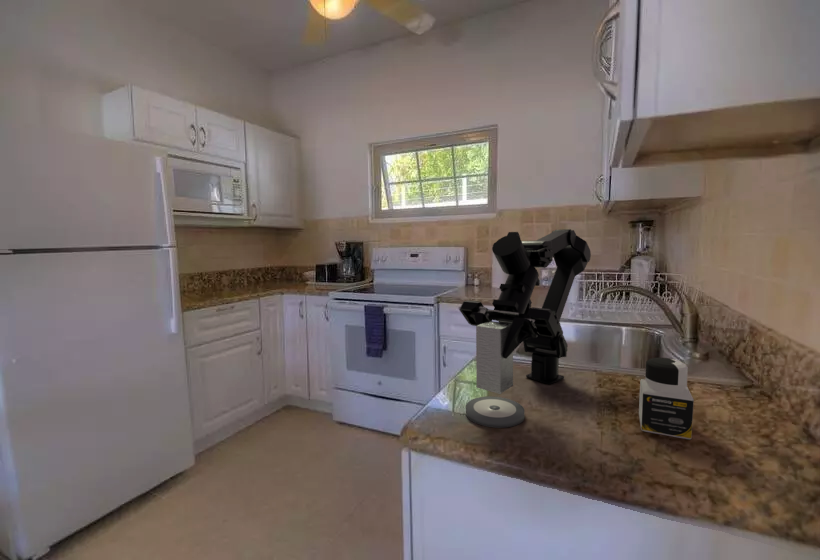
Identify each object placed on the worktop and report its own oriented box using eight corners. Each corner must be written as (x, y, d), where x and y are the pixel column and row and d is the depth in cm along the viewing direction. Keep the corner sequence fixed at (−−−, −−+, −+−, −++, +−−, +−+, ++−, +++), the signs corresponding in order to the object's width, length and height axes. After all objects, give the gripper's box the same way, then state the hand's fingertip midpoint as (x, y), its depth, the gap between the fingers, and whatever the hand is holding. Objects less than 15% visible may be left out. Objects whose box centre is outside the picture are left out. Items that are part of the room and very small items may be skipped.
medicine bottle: (641, 431, 66) (644, 363, 65) (638, 414, 72) (641, 352, 71) (691, 440, 63) (695, 369, 62) (684, 422, 69) (688, 357, 68)
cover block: (489, 379, 77) (489, 321, 75) (512, 385, 73) (513, 324, 72) (476, 387, 73) (476, 325, 72) (500, 394, 70) (500, 329, 68)
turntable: (491, 397, 81) (491, 391, 81) (536, 415, 73) (536, 409, 72) (453, 412, 75) (453, 405, 75) (498, 434, 66) (498, 427, 66)
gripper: (573, 317, 77) (552, 386, 70) (491, 307, 90) (465, 366, 82) (560, 282, 71) (534, 355, 63) (473, 277, 83) (443, 338, 76)
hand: (491, 354), depth 71 cm, fingers closed on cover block, 5 cm apart
